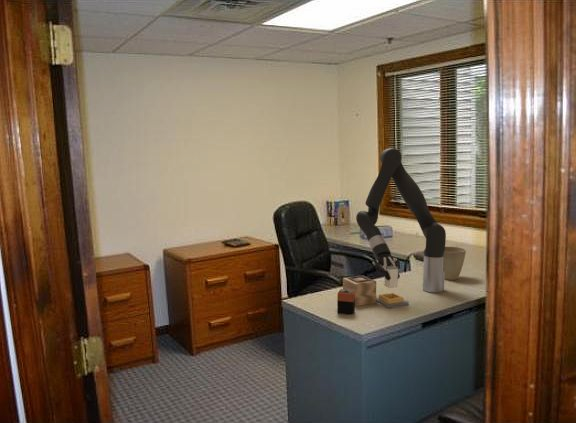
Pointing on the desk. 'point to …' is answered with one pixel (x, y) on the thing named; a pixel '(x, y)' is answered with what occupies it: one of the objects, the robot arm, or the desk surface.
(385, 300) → the orange-framed grey plate
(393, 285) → the plug
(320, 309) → the desk surface
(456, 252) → the plant pot
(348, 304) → the battery
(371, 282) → the wood grain square block
